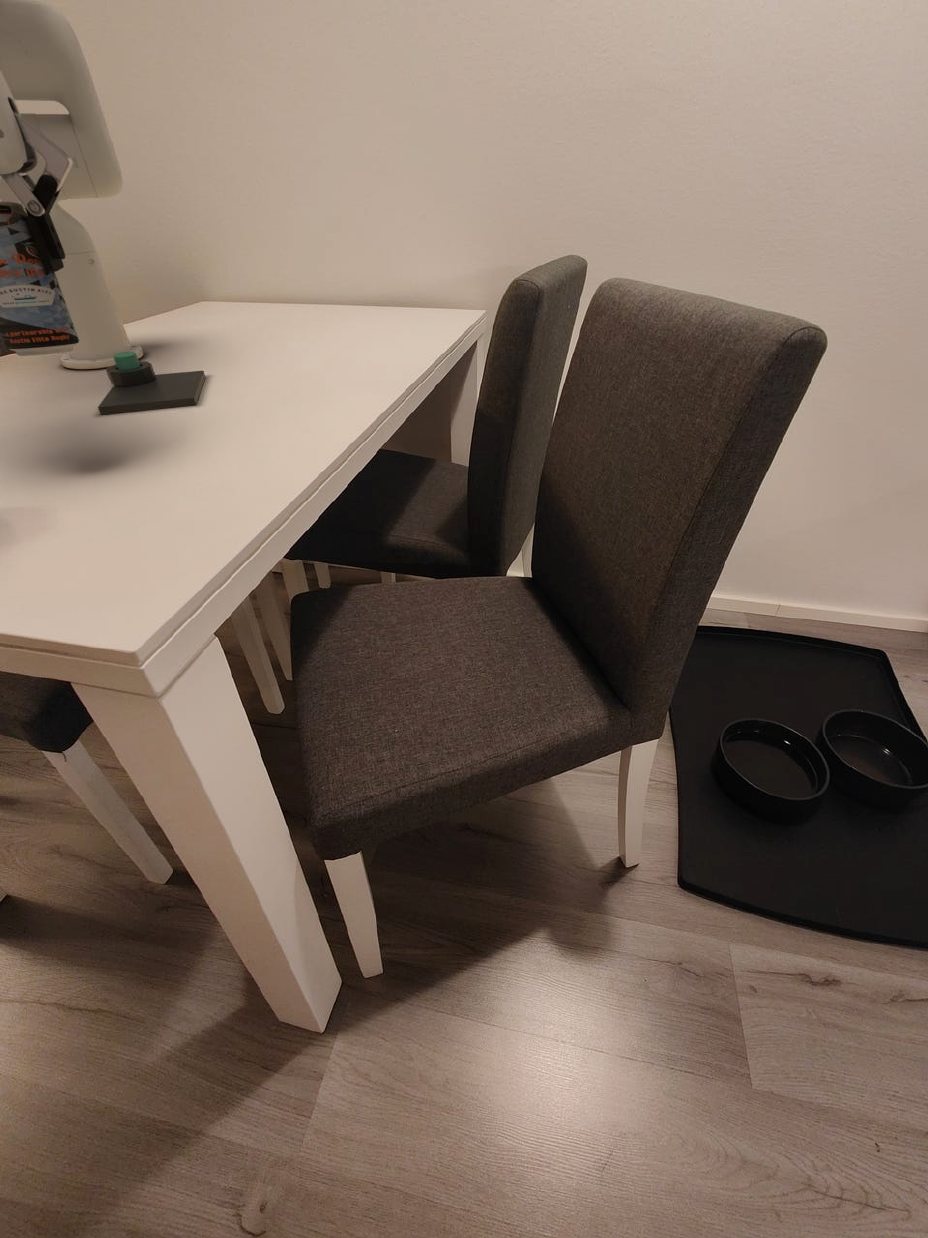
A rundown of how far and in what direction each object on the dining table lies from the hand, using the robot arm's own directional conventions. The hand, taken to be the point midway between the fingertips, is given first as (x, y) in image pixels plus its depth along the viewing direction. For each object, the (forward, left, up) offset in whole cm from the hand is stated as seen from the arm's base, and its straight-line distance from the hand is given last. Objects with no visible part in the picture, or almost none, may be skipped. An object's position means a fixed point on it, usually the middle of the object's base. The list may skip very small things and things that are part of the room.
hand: (12, 269), depth 50 cm
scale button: (-30, -1, -16) cm, 34 cm away
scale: (-25, +2, -18) cm, 31 cm away
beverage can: (0, 0, -7) cm, 7 cm away
